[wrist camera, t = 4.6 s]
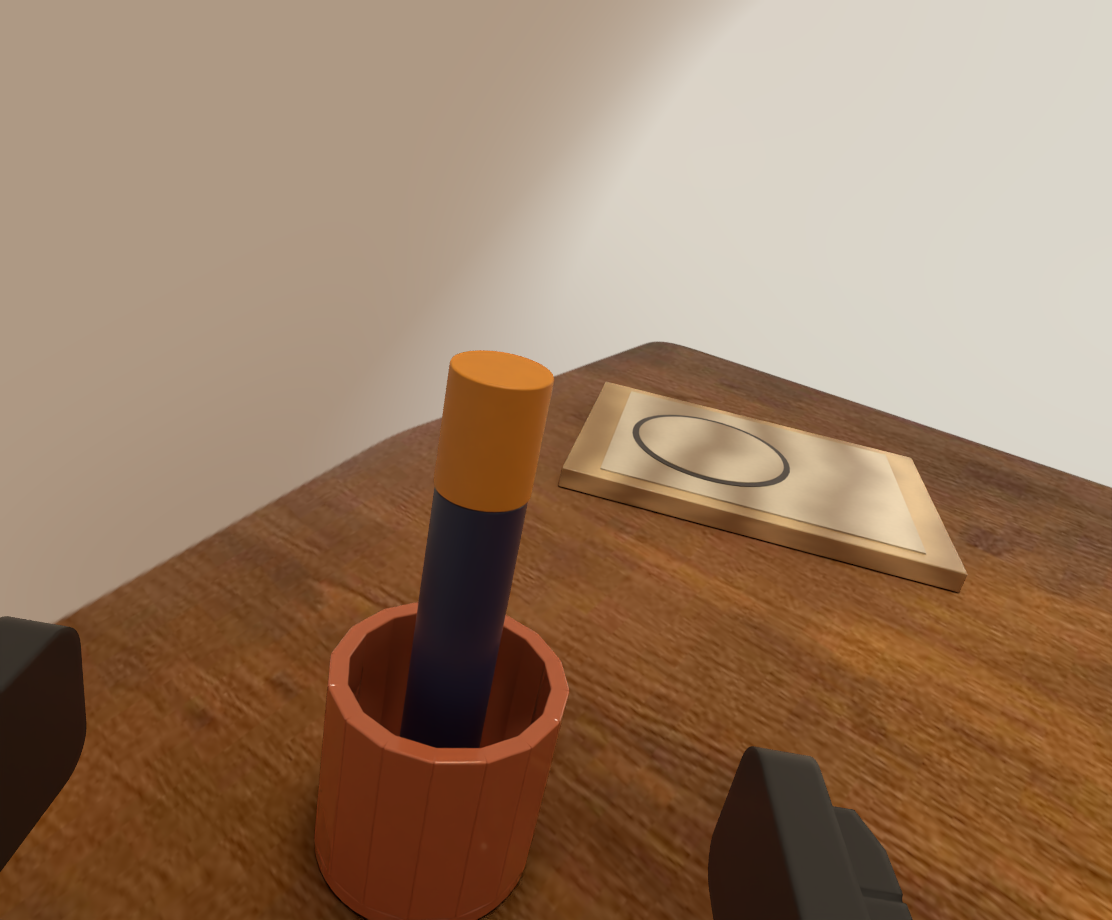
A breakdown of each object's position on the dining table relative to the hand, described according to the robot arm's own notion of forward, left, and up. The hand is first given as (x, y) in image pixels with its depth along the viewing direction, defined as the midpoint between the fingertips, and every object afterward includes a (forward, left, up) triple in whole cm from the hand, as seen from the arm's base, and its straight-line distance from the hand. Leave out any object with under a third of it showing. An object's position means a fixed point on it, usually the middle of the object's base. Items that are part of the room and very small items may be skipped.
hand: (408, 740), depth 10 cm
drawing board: (+8, +41, -13) cm, 44 cm away
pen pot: (-2, +9, -13) cm, 16 cm away
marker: (-2, +9, -13) cm, 16 cm away
